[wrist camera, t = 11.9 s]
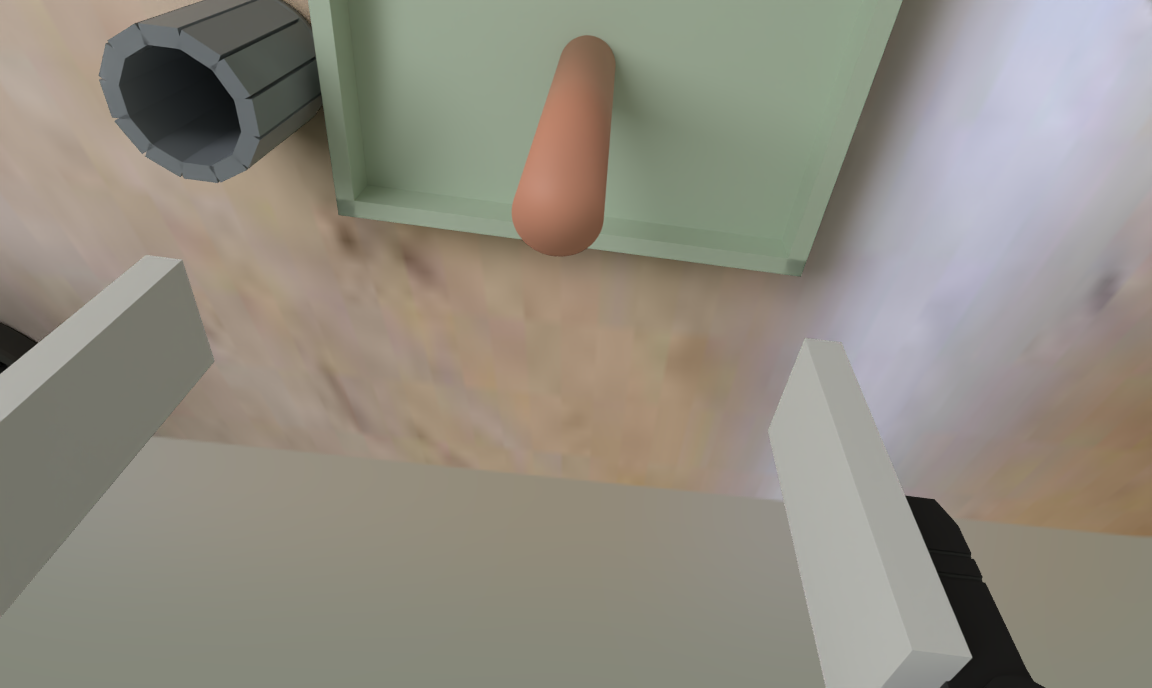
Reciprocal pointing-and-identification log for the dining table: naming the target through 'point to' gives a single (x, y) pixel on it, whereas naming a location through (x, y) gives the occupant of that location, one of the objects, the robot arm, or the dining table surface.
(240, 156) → the cup
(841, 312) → the dining table surface
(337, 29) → the tray
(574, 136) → the pin
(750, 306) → the dining table surface
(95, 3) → the dining table surface
